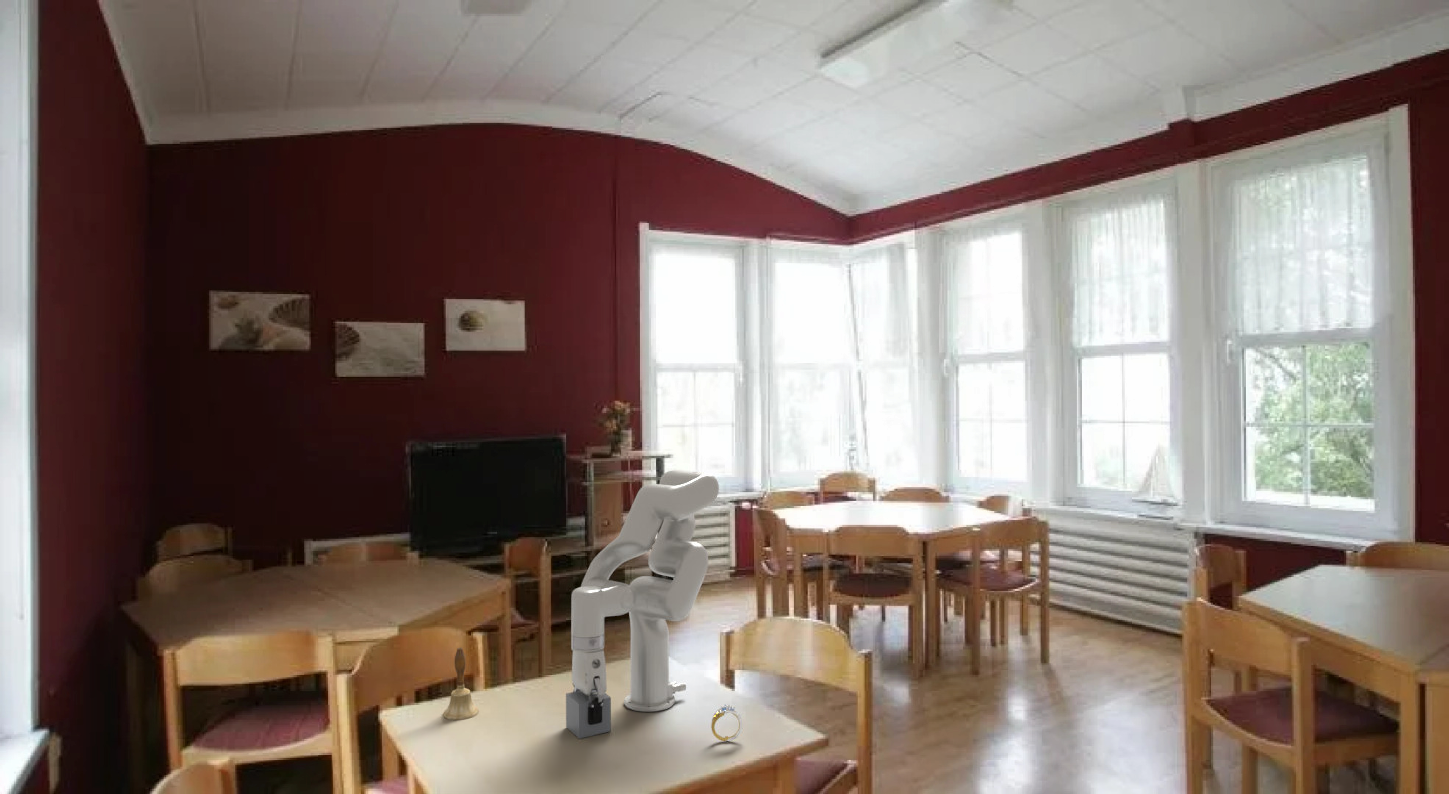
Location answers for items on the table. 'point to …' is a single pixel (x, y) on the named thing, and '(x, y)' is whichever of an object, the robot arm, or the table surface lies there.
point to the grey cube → (586, 715)
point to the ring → (724, 711)
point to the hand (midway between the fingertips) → (587, 717)
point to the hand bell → (460, 694)
